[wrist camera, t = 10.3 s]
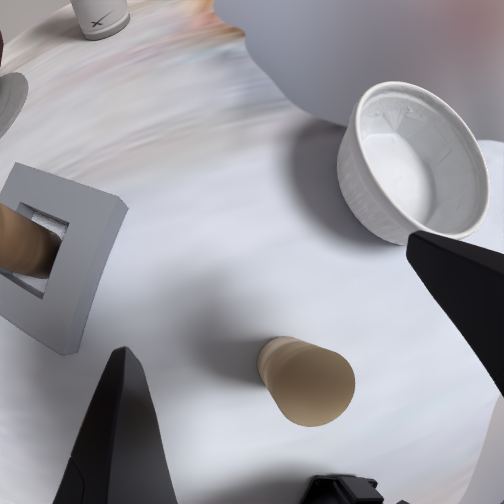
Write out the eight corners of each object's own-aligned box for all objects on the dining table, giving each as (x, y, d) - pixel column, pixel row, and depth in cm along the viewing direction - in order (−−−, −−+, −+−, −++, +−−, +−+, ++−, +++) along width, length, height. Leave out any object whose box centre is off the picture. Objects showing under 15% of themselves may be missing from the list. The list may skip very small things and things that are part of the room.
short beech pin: (300, 394, 21) (338, 432, 13) (249, 380, 20) (264, 417, 13) (317, 344, 21) (365, 359, 14) (267, 329, 21) (292, 339, 13)
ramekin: (442, 273, 24) (495, 260, 17) (311, 235, 23) (345, 204, 16) (442, 152, 26) (480, 121, 20) (331, 106, 26) (357, 58, 19)
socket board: (77, 352, 19) (62, 355, 17) (-16, 292, 19) (-32, 289, 17) (128, 208, 22) (118, 196, 20) (29, 173, 22) (15, 162, 19)
